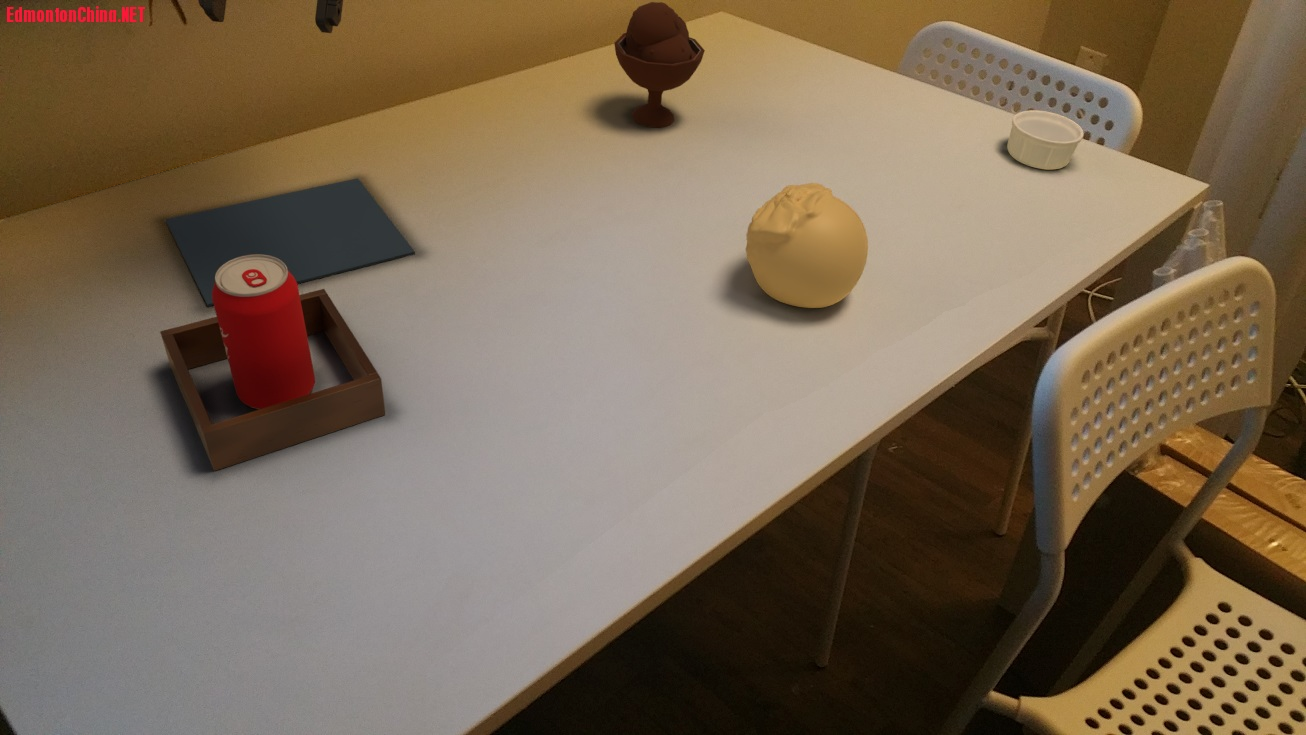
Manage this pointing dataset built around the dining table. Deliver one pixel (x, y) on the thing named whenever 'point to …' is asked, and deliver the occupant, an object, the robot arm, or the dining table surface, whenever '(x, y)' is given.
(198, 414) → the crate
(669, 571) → the dining table surface
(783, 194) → the sculpture
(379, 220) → the cloth mat
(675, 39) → the ice cream bowl
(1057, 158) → the ramekin
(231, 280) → the beverage can
